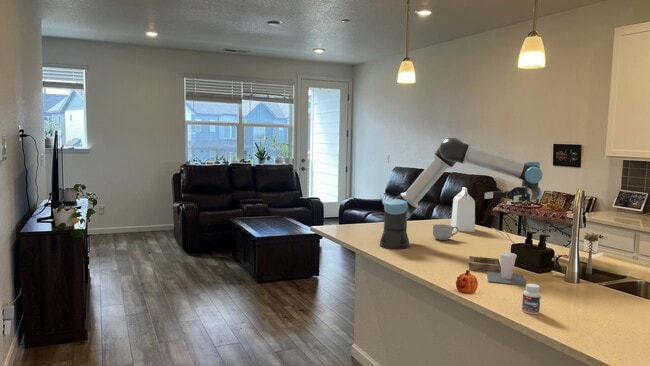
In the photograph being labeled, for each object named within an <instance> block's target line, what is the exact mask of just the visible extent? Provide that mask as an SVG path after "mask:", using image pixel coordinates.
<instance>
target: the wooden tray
mask: <svg viewBox="0 0 650 366" xmlns="http://www.w3.org/2000/svg"><path fill="white" fill-rule="evenodd" d="M468 270H469V271H478V272H486V273H487V271H489V272H499V273H501V261H500V259H499V258H497V257H496V258H493V257H483V256H472V255H469V257H468Z"/></svg>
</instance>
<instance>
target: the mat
mask: <svg viewBox="0 0 650 366" xmlns="http://www.w3.org/2000/svg"><path fill="white" fill-rule="evenodd" d="M486 275H487V282H488V283H493V284H502V285H503V284H504V285H511V286H521V287H526V284H527V282H526V279H525V277H524V274H518V273H512V277H511V279H504V278H502V277H501V272H500V273H499V272H489V271H487V272H486Z"/></svg>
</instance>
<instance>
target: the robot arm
mask: <svg viewBox="0 0 650 366" xmlns="http://www.w3.org/2000/svg"><path fill="white" fill-rule="evenodd" d="M433 157H434V158H433V159H432V160H431V161H430V162H429V163H428V165H426V167H425V168H424V170H422V172H421V173H420V174H419V175H418V176H417V178H416V179H415V181H414V182H413V183H412V184H411V185H410V186H409V187H408V189H407V190H406V191H405V192H401V193H400V194H399V195H398V196H397V197H396V198H394V199H388V200H386V201H385V202H384V207H383V208H384V209H383V210H384V214H383V216H384V217H383V232H382V234H381V237H380V239H379V246H380V247H381V248H385V249H391V250H405V249H408V248H410V240H409V237H408V233H407V229H408V220H409V219H410V217H412V215H413V213H414V212H415V211H416V210H417V209H418V207H419V205H418V204H419V202H420V201H421V200H422V199H423V197H424V196H425V195H426V194H427V193H428V192H429V190H430V189H432V187H433V186H434V185H435V183H436V182H437V181H438V180H439V178H441V176H442V175H443V174H444V173H445V171H446V170H448V169H452V168H453V167H454V166H455V165H456V163H460V164H463V165H464V164H470V165H472V166H477V167H480V168H483V169H486V170H490V171H492V172H497V173H500V174H503V175H506V176H509V177H513V178H516V179H519V180H521V186H515V187H513V188H511V190H499V191H498V190H496V191H495V190H494V191H492V190H491V191H490V190H487V191H486V192H485V193H484V199H485V200H487V199H490V200H492V199H493V198H502V199H507V200H508V199H509V200H511V201H512V202H513V203H517V204H519V203H522V204H524V203H525V202H532V201H535V200H538V199H539V198H540V197H541V196H542V189H541V188H540V186H539V184H540V183H539V182H541V180H542V179H543V171H542V169H541V165H540V161H535V160H534V161H531V160H525V161H524V162H520V161H517V160H514V159H512V158H511V159H510V158H507V157H504V156H501V155H497V154H494V153H490V152H487V151H484V150H481V149H477V148H474V147H472V145H470V144H469V143H465V142H463V141H462V140H461V139H459V137H454V136H453V137H448V138H445V139H444V140H442V142H441V143H440V145H439V147H437V150H436V151H435V152H434V153H433Z"/></svg>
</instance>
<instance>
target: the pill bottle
mask: <svg viewBox="0 0 650 366" xmlns="http://www.w3.org/2000/svg"><path fill="white" fill-rule="evenodd" d="M539 291H540V286H539V285H538V284H536V283H526V286H525V290H524V291H523V292H522V301H521V302H522V303H521V311H522V312H523V313H525V314H528V315H538V314H539V313H540V308H541V293H540V292H539Z"/></svg>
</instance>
